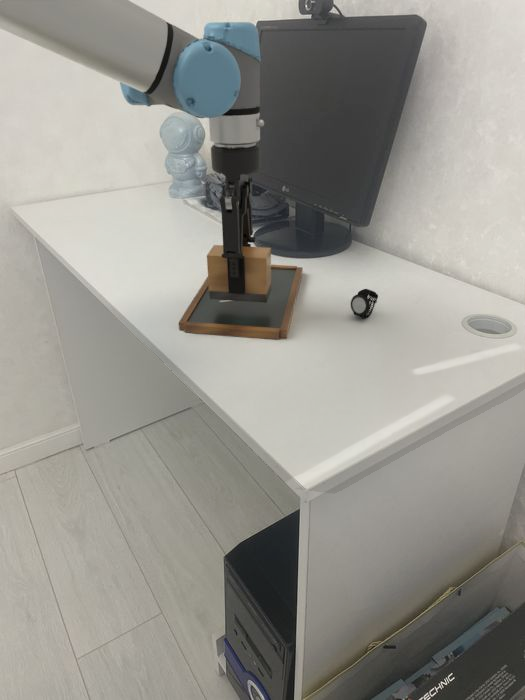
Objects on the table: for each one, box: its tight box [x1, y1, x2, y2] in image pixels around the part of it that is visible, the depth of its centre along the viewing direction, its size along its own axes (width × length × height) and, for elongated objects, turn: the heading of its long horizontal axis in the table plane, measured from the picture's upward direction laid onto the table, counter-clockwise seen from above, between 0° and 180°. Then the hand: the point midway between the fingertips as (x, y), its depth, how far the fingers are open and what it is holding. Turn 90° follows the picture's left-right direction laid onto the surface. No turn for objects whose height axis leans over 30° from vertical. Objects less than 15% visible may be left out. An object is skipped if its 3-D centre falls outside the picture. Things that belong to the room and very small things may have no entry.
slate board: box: [178, 264, 304, 340], centre depth 98 cm, size 18×28×2 cm, turn 171°
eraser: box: [206, 244, 272, 303], centre depth 89 cm, size 10×5×8 cm, turn 81°
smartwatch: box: [350, 288, 379, 319], centre depth 90 cm, size 4×5×5 cm
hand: (240, 285), depth 90 cm, fingers closed on eraser, 5 cm apart
